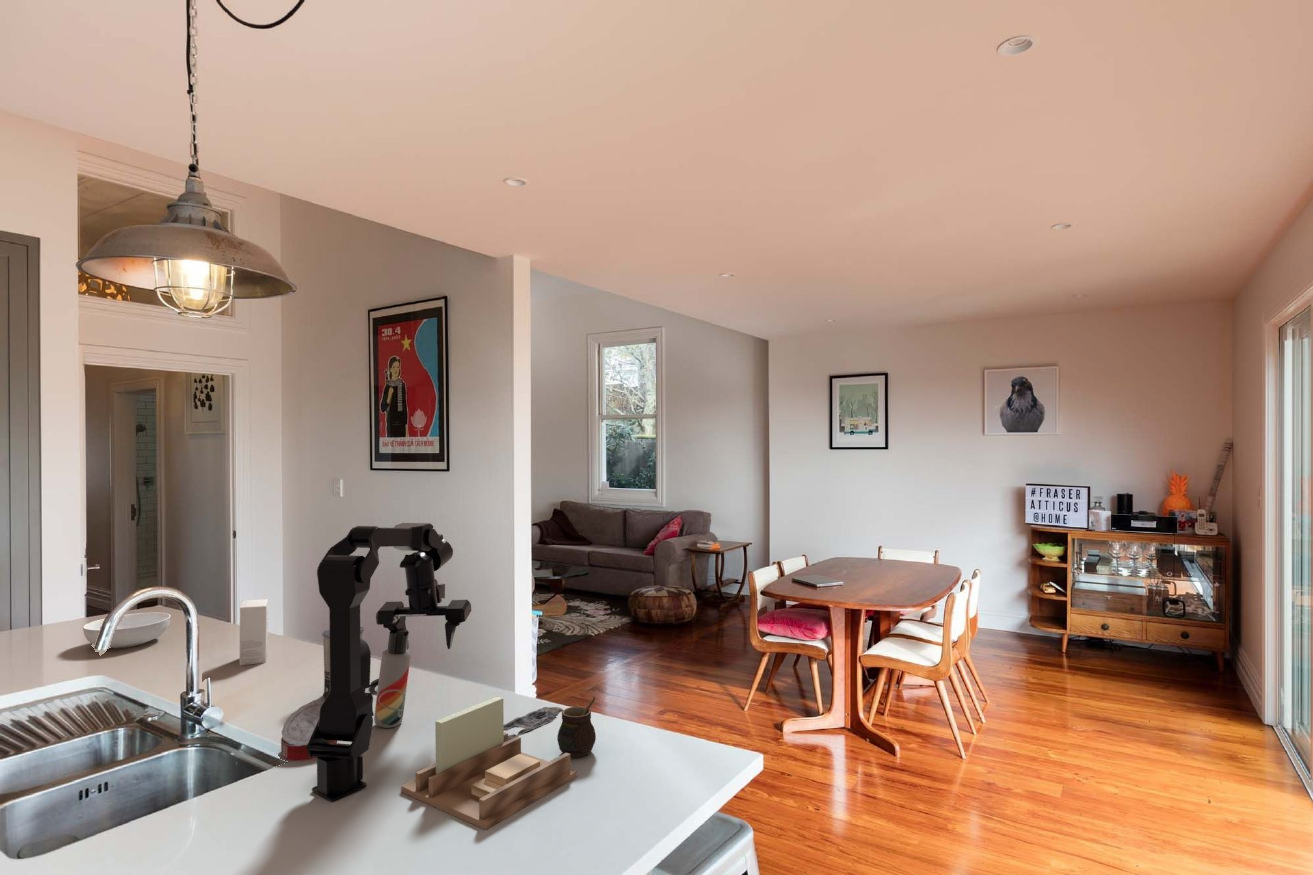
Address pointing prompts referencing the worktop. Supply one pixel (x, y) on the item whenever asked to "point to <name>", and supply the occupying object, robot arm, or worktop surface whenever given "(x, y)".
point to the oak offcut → (511, 769)
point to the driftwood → (533, 720)
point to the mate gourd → (576, 731)
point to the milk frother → (365, 663)
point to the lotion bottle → (393, 680)
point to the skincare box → (253, 631)
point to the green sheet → (468, 733)
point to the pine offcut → (484, 788)
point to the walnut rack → (457, 798)
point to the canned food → (300, 731)
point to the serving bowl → (131, 629)
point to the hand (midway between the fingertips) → (428, 648)
